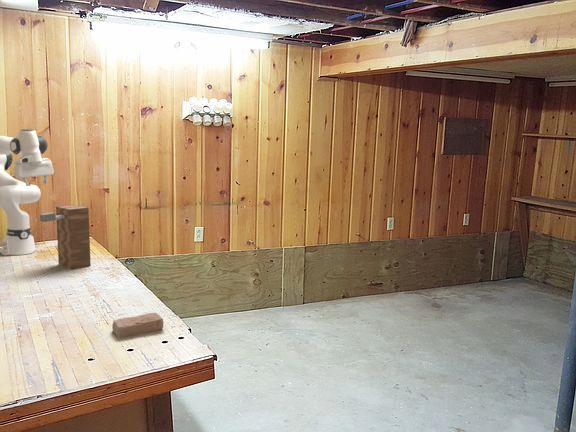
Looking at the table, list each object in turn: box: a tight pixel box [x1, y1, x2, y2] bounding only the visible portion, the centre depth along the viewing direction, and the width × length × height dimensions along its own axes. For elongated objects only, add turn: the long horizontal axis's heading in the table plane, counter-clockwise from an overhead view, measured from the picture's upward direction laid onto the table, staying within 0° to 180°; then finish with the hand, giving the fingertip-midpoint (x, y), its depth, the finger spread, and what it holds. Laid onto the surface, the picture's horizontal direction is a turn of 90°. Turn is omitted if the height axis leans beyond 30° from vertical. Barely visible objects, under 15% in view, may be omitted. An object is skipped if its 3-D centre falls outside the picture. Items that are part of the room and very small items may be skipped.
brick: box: [111, 312, 164, 339], centre depth 187 cm, size 17×8×5 cm, turn 123°
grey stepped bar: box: [39, 211, 65, 223], centre depth 262 cm, size 16×4×4 cm, turn 142°
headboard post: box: [55, 204, 92, 270], centre depth 270 cm, size 14×10×31 cm
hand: (36, 185), depth 277 cm, fingers open, 8 cm apart
